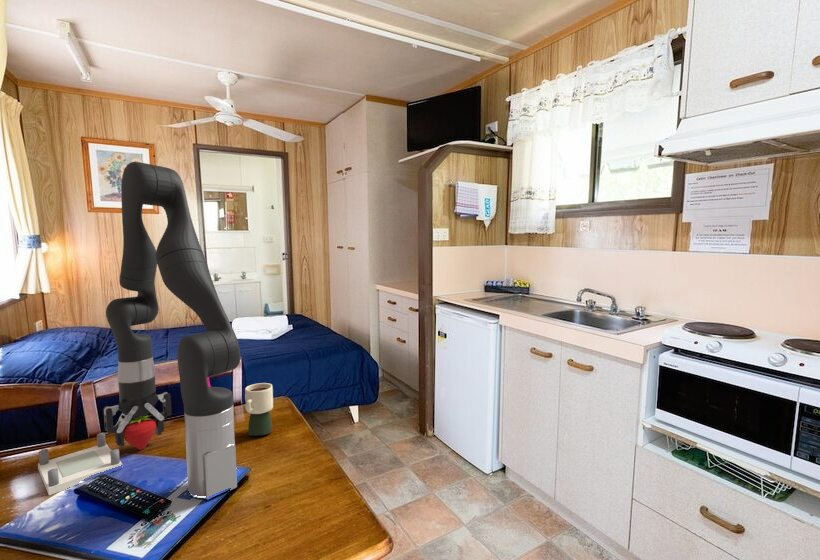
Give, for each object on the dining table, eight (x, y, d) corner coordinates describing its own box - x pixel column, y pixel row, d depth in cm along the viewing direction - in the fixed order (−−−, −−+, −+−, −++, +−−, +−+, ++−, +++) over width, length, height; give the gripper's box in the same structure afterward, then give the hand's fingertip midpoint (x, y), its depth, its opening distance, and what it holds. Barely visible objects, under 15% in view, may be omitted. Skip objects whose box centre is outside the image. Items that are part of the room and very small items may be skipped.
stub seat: (122, 469, 91) (121, 450, 90) (48, 495, 81) (47, 474, 81) (105, 448, 100) (104, 431, 100) (38, 469, 91) (36, 451, 90)
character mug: (259, 423, 114) (258, 379, 113) (282, 425, 113) (281, 381, 112) (236, 441, 103) (234, 393, 102) (261, 444, 102) (259, 395, 101)
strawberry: (118, 453, 98) (115, 414, 97) (149, 440, 104) (146, 403, 104) (132, 459, 95) (130, 419, 94) (163, 444, 102) (161, 407, 101)
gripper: (105, 387, 90) (110, 456, 92) (174, 372, 101) (177, 434, 103) (97, 380, 95) (101, 445, 97) (163, 367, 106) (167, 425, 107)
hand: (140, 439), depth 100 cm, fingers closed on strawberry, 7 cm apart
